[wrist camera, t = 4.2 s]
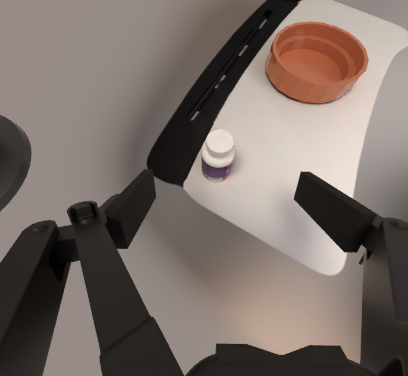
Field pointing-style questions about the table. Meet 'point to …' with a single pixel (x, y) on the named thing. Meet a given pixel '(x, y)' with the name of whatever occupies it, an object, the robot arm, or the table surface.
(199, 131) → the table surface
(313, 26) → the bowl
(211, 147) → the pill bottle
